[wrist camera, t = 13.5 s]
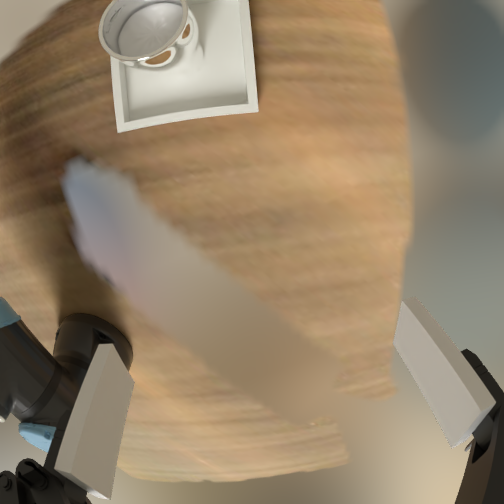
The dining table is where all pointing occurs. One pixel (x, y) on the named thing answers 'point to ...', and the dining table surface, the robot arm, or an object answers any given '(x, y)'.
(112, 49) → the beer glass
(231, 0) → the tray
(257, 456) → the dining table surface
